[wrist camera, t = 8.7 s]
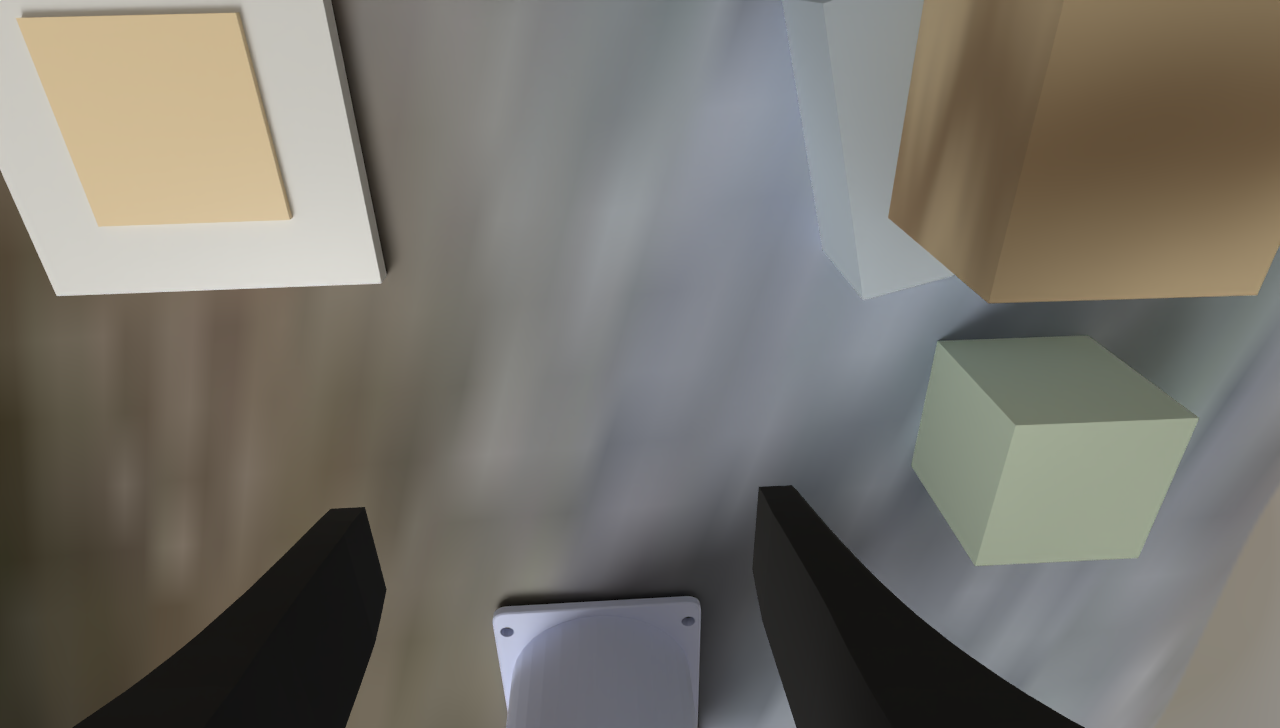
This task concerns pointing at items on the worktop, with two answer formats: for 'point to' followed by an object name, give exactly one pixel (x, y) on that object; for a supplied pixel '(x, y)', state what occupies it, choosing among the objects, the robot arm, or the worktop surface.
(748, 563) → the worktop surface
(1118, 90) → the maple block
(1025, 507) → the sage block
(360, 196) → the card
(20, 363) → the worktop surface
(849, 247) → the blue-grey base block
